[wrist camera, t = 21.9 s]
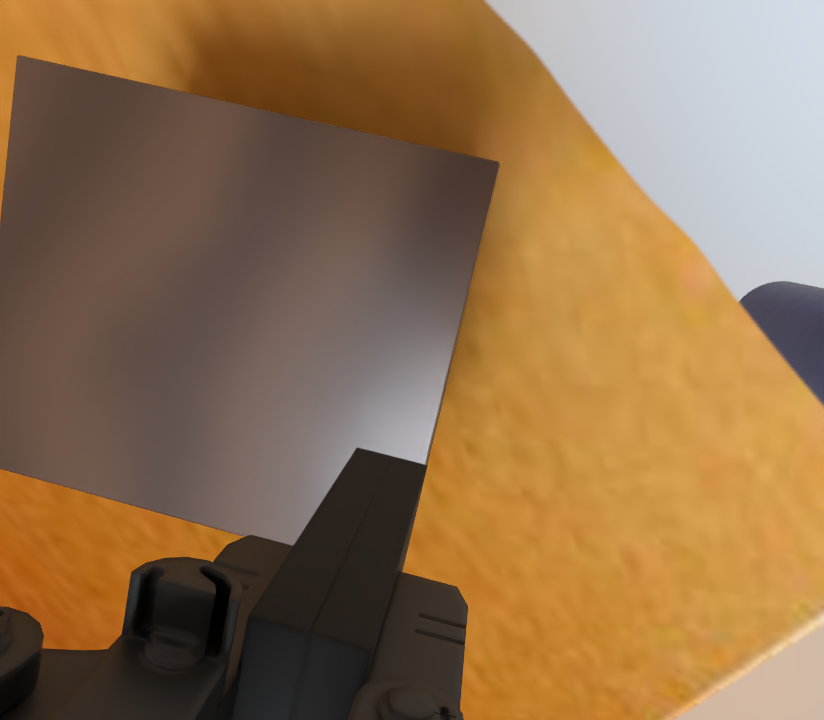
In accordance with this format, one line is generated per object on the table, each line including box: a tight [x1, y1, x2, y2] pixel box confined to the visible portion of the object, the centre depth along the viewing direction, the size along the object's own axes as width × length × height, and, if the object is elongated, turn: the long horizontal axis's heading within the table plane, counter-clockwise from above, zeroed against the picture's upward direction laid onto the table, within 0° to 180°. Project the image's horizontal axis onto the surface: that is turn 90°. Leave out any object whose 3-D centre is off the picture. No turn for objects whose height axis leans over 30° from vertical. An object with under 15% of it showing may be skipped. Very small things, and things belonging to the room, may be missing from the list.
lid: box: [0, 55, 500, 546], centre depth 28 cm, size 19×17×1 cm
